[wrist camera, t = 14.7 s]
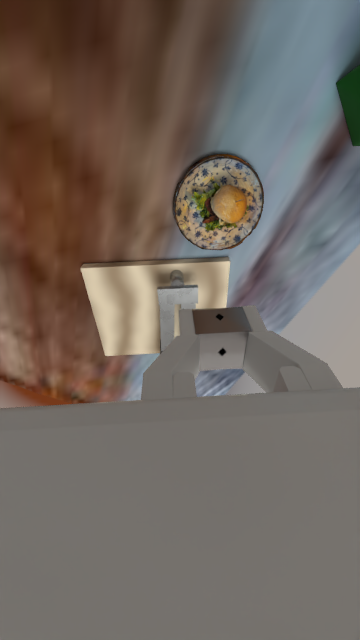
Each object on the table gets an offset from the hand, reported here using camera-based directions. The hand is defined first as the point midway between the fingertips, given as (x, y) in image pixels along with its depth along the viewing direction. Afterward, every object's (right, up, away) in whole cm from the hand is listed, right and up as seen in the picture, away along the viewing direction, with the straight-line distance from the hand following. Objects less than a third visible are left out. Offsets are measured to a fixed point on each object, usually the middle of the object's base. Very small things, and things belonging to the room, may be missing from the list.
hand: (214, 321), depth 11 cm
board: (-5, +2, +35) cm, 35 cm away
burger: (+4, +16, +25) cm, 30 cm away
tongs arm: (-4, -1, +35) cm, 35 cm away
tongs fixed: (-2, +1, +34) cm, 34 cm away
